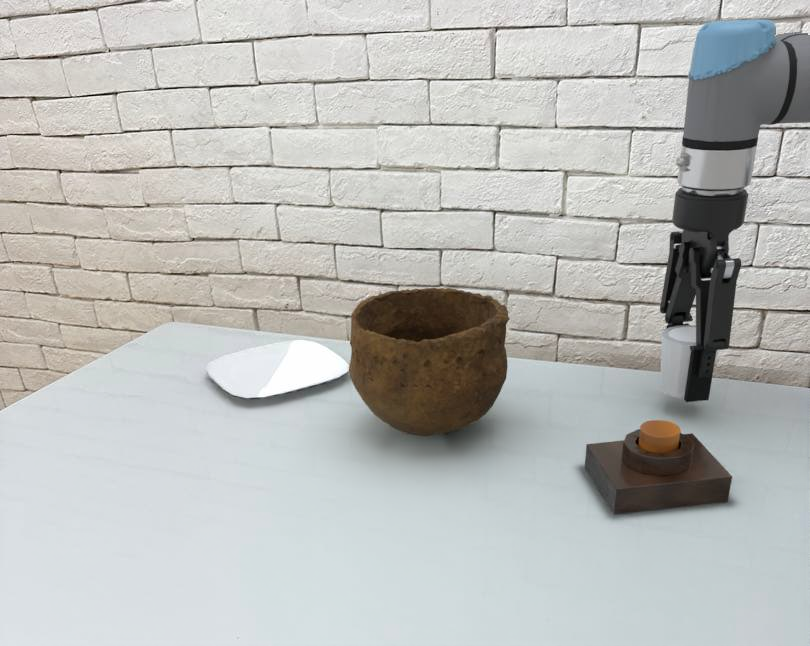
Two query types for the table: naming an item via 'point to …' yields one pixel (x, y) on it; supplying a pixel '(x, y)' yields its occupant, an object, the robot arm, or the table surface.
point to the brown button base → (656, 475)
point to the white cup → (676, 358)
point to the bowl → (429, 357)
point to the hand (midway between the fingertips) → (683, 387)
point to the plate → (276, 369)
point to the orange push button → (659, 436)
